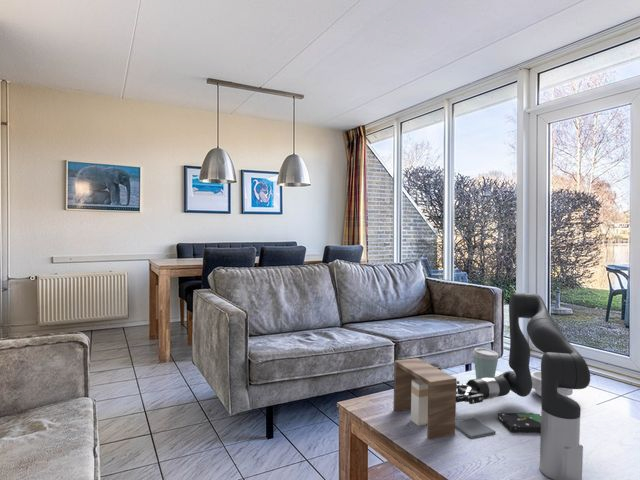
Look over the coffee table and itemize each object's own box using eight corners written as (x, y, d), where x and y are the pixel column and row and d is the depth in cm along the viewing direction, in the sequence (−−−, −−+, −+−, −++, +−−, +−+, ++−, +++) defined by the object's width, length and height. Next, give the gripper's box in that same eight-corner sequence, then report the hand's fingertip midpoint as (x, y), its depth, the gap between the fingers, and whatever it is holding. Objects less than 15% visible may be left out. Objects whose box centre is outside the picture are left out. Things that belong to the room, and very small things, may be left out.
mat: (495, 433, 133) (495, 431, 133) (471, 438, 130) (471, 436, 130) (473, 419, 143) (474, 417, 143) (450, 424, 139) (450, 422, 139)
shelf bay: (455, 434, 133) (456, 378, 132) (429, 439, 129) (430, 382, 129) (416, 406, 153) (417, 358, 153) (393, 410, 150) (394, 360, 149)
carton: (429, 423, 139) (430, 383, 139) (418, 425, 138) (419, 385, 137) (421, 417, 144) (422, 378, 143) (410, 419, 142) (411, 380, 142)
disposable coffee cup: (493, 380, 181) (494, 347, 180) (501, 390, 170) (502, 354, 170) (469, 379, 182) (470, 346, 182) (475, 388, 171) (476, 353, 171)
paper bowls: (564, 390, 171) (565, 372, 170) (578, 406, 156) (579, 385, 156) (525, 386, 174) (525, 368, 174) (534, 401, 160) (535, 381, 159)
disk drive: (510, 435, 134) (555, 434, 134) (511, 426, 134) (555, 426, 134) (496, 420, 144) (538, 420, 145) (496, 412, 144) (538, 412, 144)
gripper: (469, 372, 157) (434, 377, 151) (497, 385, 143) (460, 391, 138) (469, 391, 157) (434, 396, 151) (497, 406, 144) (460, 413, 138)
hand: (446, 394), depth 145 cm, fingers open, 8 cm apart
